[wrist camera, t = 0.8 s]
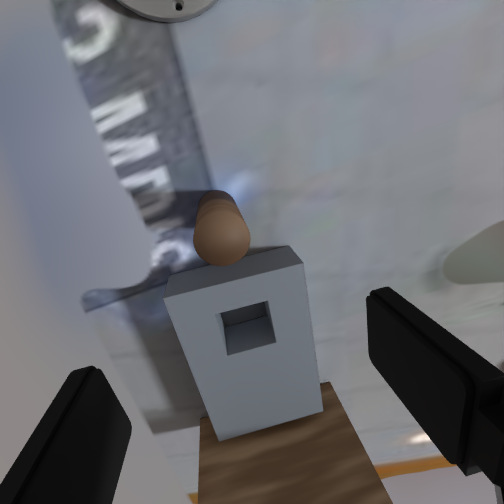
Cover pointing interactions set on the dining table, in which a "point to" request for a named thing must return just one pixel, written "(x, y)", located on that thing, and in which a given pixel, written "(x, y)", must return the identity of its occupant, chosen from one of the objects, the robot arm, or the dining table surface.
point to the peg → (220, 230)
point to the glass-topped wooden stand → (290, 462)
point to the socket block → (248, 341)
